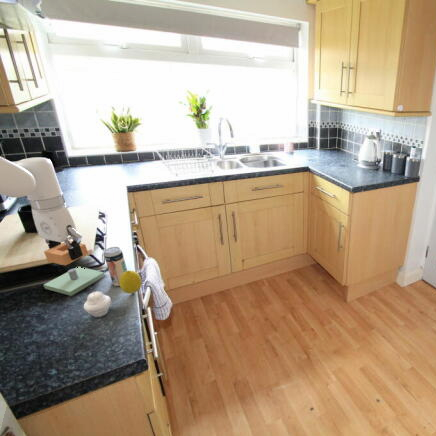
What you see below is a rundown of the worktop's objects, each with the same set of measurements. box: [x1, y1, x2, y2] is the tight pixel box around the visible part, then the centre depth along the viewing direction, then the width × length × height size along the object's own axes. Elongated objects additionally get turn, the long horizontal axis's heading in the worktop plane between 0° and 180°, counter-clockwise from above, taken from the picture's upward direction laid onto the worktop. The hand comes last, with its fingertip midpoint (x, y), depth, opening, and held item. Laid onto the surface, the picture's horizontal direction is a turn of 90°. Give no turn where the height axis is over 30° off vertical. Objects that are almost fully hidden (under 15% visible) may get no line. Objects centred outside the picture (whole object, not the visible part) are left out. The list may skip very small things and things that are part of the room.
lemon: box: [119, 270, 142, 295], centre depth 95 cm, size 6×6×8 cm
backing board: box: [43, 266, 106, 297], centre depth 100 cm, size 11×11×4 cm
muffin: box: [83, 291, 112, 318], centre depth 87 cm, size 6×6×7 cm
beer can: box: [103, 246, 128, 287], centre depth 99 cm, size 5×5×12 cm
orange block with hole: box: [43, 240, 89, 266], centre depth 97 cm, size 7×7×4 cm
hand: (67, 255), depth 97 cm, fingers closed on orange block with hole, 7 cm apart
